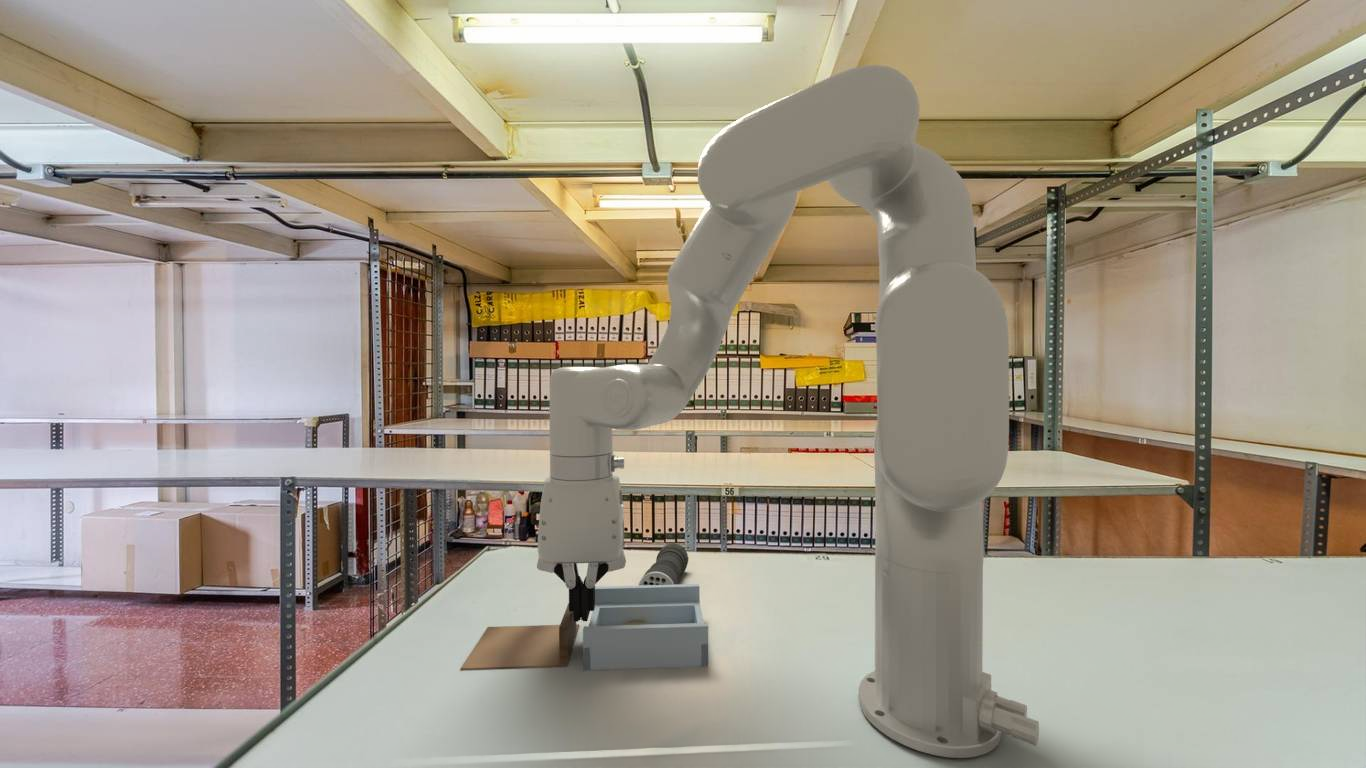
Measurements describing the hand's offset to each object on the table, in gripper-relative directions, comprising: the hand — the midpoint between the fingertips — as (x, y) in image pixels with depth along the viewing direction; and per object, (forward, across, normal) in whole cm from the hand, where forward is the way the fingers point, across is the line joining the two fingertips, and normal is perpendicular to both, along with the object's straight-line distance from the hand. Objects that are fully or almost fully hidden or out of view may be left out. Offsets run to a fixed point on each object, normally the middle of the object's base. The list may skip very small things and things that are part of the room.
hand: (582, 616), depth 64 cm
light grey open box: (+4, -8, 0) cm, 9 cm away
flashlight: (+4, -11, -17) cm, 21 cm away
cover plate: (+4, +7, 0) cm, 8 cm away
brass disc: (+3, -6, -2) cm, 7 cm away
